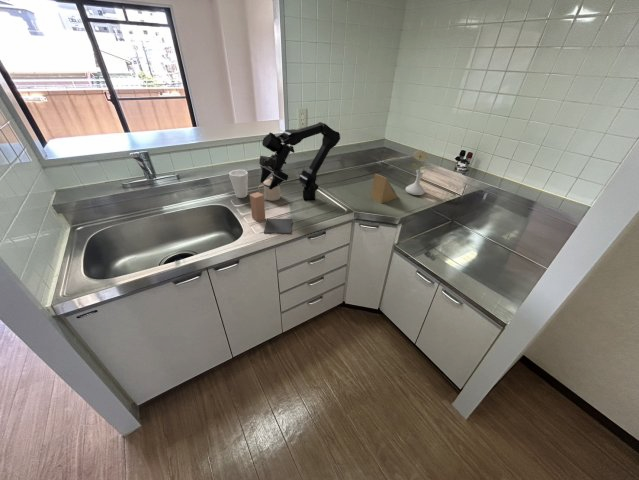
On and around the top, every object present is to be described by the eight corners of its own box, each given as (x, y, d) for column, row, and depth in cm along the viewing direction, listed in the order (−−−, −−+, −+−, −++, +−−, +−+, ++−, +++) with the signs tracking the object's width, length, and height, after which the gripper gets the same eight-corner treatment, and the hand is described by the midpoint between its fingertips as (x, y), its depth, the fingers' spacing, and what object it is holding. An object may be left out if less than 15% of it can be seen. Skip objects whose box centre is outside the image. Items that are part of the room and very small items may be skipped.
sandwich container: (399, 197, 154) (405, 173, 145) (381, 204, 146) (386, 178, 137) (388, 192, 159) (393, 168, 151) (370, 198, 151) (374, 173, 143)
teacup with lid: (281, 194, 150) (280, 174, 143) (280, 201, 142) (279, 181, 135) (260, 193, 149) (258, 174, 142) (257, 200, 142) (255, 180, 135)
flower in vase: (427, 194, 159) (440, 153, 145) (415, 198, 153) (428, 156, 139) (410, 186, 168) (421, 147, 153) (398, 190, 162) (408, 149, 148)
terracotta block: (260, 215, 129) (257, 191, 122) (265, 218, 127) (263, 195, 120) (252, 218, 127) (249, 194, 119) (257, 221, 124) (255, 197, 117)
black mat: (291, 219, 127) (291, 218, 127) (290, 233, 117) (290, 232, 117) (266, 219, 126) (266, 218, 126) (263, 233, 116) (263, 232, 116)
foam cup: (234, 191, 150) (231, 169, 142) (251, 191, 150) (248, 169, 143) (231, 199, 142) (227, 176, 134) (248, 199, 143) (246, 176, 135)
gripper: (258, 143, 123) (243, 172, 126) (277, 154, 111) (260, 186, 114) (276, 154, 132) (261, 181, 135) (295, 165, 120) (279, 195, 123)
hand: (265, 185), depth 126 cm, fingers open, 9 cm apart
